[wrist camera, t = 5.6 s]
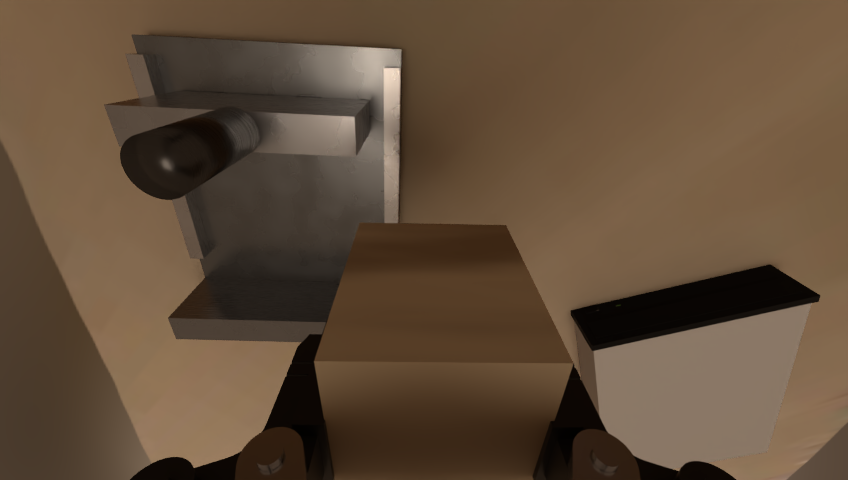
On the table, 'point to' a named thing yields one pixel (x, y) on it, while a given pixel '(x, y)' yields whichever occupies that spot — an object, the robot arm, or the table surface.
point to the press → (278, 184)
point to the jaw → (226, 134)
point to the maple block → (438, 357)
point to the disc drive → (694, 364)
